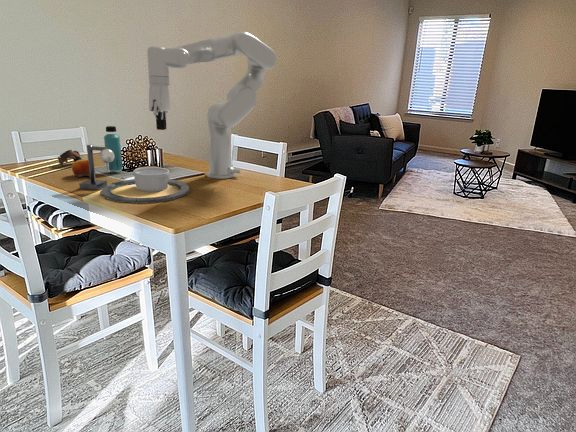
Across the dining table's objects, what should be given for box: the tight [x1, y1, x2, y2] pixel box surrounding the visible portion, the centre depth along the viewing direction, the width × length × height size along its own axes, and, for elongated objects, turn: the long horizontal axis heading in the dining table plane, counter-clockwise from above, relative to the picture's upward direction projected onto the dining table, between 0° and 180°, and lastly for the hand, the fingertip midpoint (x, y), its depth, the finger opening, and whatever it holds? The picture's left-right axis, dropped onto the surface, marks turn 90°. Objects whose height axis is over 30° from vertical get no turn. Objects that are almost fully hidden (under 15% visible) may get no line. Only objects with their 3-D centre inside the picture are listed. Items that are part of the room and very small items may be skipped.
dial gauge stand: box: [78, 144, 115, 191], centre depth 155 cm, size 12×7×16 cm, turn 84°
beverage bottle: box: [103, 125, 123, 172], centre depth 178 cm, size 6×7×20 cm
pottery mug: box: [57, 149, 83, 166], centre depth 190 cm, size 12×10×8 cm
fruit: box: [71, 159, 90, 178], centre depth 172 cm, size 8×8×8 cm
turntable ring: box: [100, 178, 190, 204], centre depth 156 cm, size 31×31×1 cm
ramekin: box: [132, 166, 170, 192], centre depth 160 cm, size 13×13×7 cm
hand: (161, 129), depth 166 cm, fingers closed
